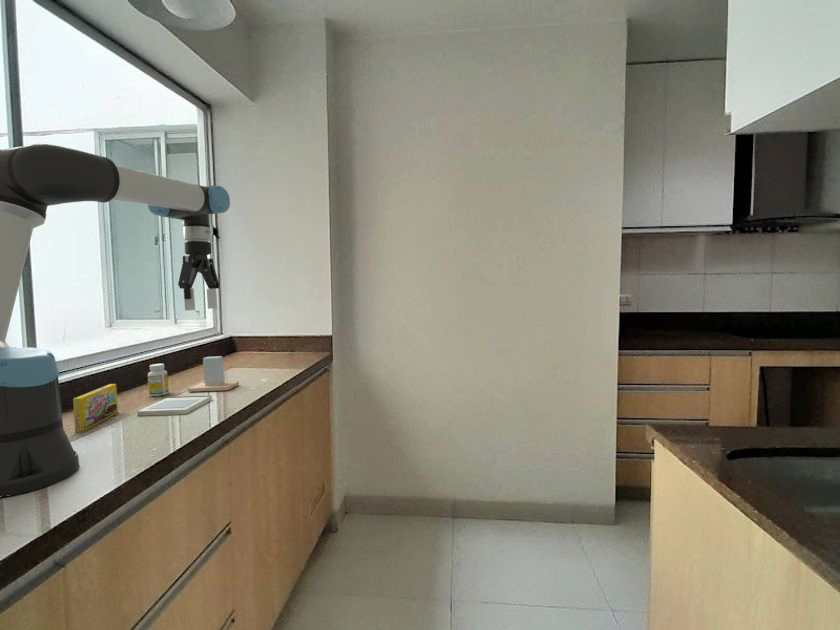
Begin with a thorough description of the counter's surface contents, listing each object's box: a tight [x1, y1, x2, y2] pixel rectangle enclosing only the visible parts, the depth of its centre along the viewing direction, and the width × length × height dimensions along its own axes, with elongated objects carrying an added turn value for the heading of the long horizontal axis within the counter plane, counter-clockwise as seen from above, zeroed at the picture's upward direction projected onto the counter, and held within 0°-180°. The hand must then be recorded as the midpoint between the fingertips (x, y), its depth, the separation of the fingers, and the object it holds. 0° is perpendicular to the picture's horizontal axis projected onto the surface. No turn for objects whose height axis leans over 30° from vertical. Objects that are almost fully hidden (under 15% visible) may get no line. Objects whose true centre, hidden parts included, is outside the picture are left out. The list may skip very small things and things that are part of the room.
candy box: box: [72, 383, 119, 433], centre depth 114 cm, size 16×2×8 cm, turn 8°
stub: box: [187, 355, 240, 393], centre depth 145 cm, size 8×13×10 cm, turn 88°
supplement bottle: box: [147, 363, 170, 397], centre depth 141 cm, size 5×5×10 cm
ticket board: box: [136, 395, 213, 417], centre depth 125 cm, size 14×13×1 cm
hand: (201, 309), depth 141 cm, fingers open, 13 cm apart
